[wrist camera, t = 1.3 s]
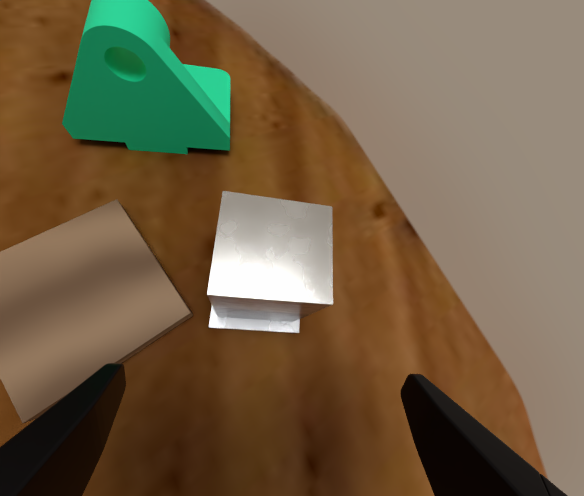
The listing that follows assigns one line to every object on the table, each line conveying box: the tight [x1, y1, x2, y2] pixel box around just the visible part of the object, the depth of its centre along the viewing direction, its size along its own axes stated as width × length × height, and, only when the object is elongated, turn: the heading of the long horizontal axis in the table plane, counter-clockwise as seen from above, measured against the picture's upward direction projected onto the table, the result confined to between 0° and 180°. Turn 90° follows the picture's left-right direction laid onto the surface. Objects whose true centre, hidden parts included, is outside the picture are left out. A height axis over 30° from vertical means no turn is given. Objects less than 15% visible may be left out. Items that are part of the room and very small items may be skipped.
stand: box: [0, 200, 193, 423], centre depth 18 cm, size 10×10×2 cm
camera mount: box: [62, 0, 230, 154], centre depth 20 cm, size 12×8×10 cm, turn 94°
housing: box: [207, 191, 333, 333], centre depth 17 cm, size 6×6×10 cm
